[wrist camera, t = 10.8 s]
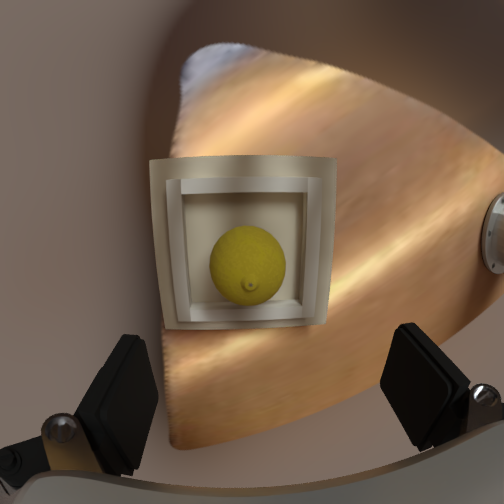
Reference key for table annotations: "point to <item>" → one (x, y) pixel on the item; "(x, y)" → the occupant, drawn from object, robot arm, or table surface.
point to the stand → (239, 214)
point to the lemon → (247, 265)
